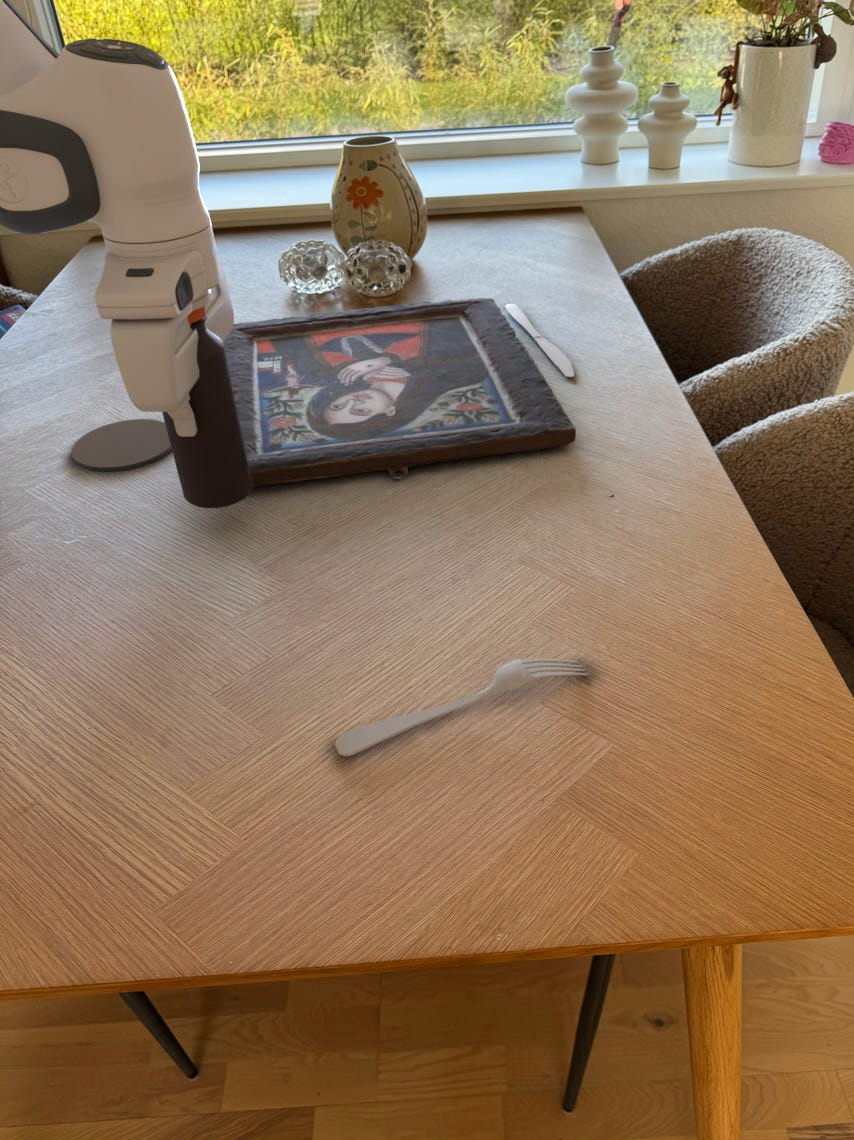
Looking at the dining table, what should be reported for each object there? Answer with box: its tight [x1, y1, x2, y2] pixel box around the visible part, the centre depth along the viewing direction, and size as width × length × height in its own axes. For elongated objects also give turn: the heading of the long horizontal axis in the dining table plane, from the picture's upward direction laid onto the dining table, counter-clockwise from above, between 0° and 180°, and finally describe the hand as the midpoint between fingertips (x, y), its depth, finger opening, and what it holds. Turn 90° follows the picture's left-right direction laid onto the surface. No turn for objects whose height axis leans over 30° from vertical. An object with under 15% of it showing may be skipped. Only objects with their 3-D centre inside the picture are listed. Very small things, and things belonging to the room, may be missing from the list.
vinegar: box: [161, 306, 253, 509], centre depth 89 cm, size 7×7×20 cm
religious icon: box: [223, 297, 577, 488], centre depth 119 cm, size 40×45×3 cm
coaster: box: [71, 418, 172, 472], centre depth 111 cm, size 12×12×1 cm
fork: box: [334, 657, 590, 757], centre depth 74 cm, size 3×21×3 cm, turn 114°
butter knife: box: [504, 303, 575, 378], centre depth 131 cm, size 1×27×3 cm
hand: (201, 413), depth 90 cm, fingers closed on vinegar, 6 cm apart
